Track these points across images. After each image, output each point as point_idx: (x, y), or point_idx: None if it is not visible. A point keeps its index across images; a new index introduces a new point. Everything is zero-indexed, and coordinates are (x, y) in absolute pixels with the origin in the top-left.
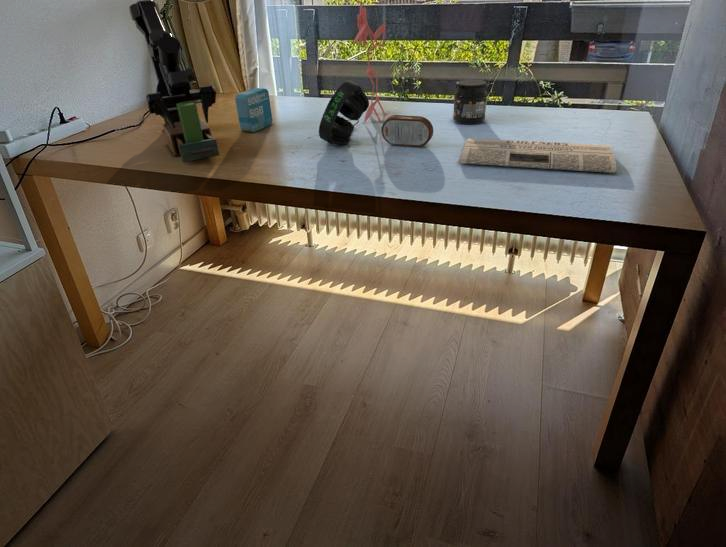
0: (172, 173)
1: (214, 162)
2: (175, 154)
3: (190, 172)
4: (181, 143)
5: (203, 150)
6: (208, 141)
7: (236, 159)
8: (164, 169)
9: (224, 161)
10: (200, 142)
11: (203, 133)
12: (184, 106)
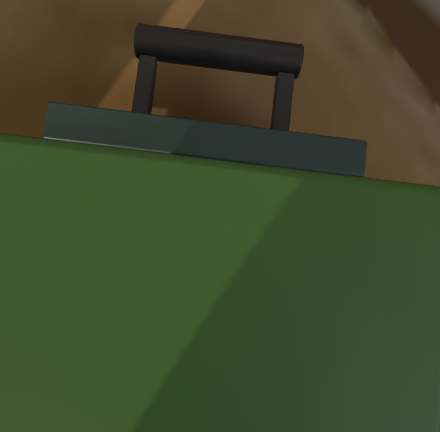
0: (411, 84)
1: (154, 95)
2: None
3: (324, 30)
4: None
5: (209, 33)
6: (120, 112)
7: (28, 53)
8: (433, 184)
9: (100, 70)
10: (188, 119)
11: None
12: (275, 167)
